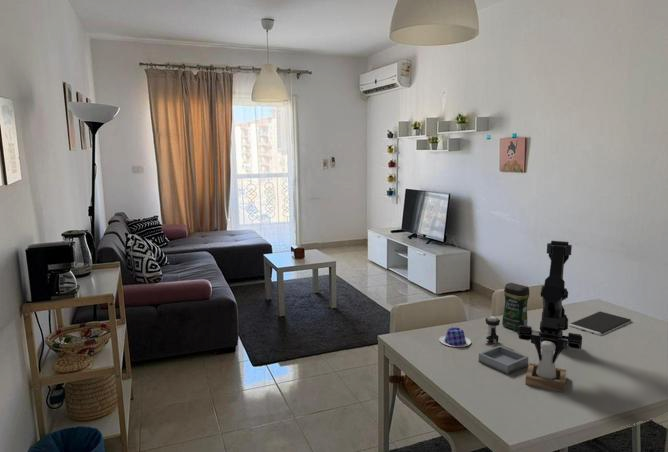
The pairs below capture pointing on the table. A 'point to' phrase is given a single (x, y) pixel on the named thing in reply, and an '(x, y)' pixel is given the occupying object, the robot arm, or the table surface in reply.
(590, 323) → the dark flat slab
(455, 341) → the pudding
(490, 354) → the grey tray
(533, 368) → the walnut socket
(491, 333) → the push button
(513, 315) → the coffee jar
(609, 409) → the table surface
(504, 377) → the table surface
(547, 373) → the salt shaker
